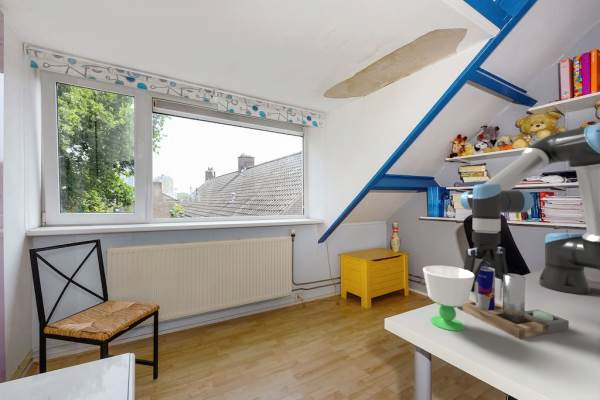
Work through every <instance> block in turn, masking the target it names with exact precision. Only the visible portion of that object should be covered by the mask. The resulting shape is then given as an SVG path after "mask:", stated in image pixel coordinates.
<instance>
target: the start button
mask: <svg viewBox="0 0 600 400" xmlns="http://www.w3.org/2000/svg"><path fill="white" fill-rule="evenodd" d="M542 311H543V310H541V311H533V316H534V317H536V318H539V319H541V320H544V321H546V322H547V321H553V316H552V315H553V314H552V315H551V313H549V312H545V311H543V312H542Z"/></svg>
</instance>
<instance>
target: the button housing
mask: <svg viewBox="0 0 600 400" xmlns="http://www.w3.org/2000/svg"><path fill="white" fill-rule="evenodd" d="M533 311H542V312H544V310H541V309H531V310H525V315H527V316H529V317H532V318H534V319H537V320H539V321H542V322H544V323H547V324H549V333H548V334H552V333H556V332H561V331H562V332H563V331H568V330H569V327H570V322H569V320H568V319H564V318H562V317H560V316H557V315H553V314H551V313H550V314H551V315H552V316H553V321H547V322H546V321H544V320H541V319H539V318H536V317H534V316H533Z"/></svg>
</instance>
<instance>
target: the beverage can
mask: <svg viewBox="0 0 600 400" xmlns="http://www.w3.org/2000/svg"><path fill="white" fill-rule="evenodd" d="M495 278H496V277H495V269H493V268H491V267H490V266H489V267H488V266H483V265H482V267H481V270H480V272H479V275H478V277H477V279H476V282H478V303H476V306H477V307H479V308H481V309H483V310H486V311H490V310H495V303H496V302H495V301H496V298H495Z"/></svg>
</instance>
